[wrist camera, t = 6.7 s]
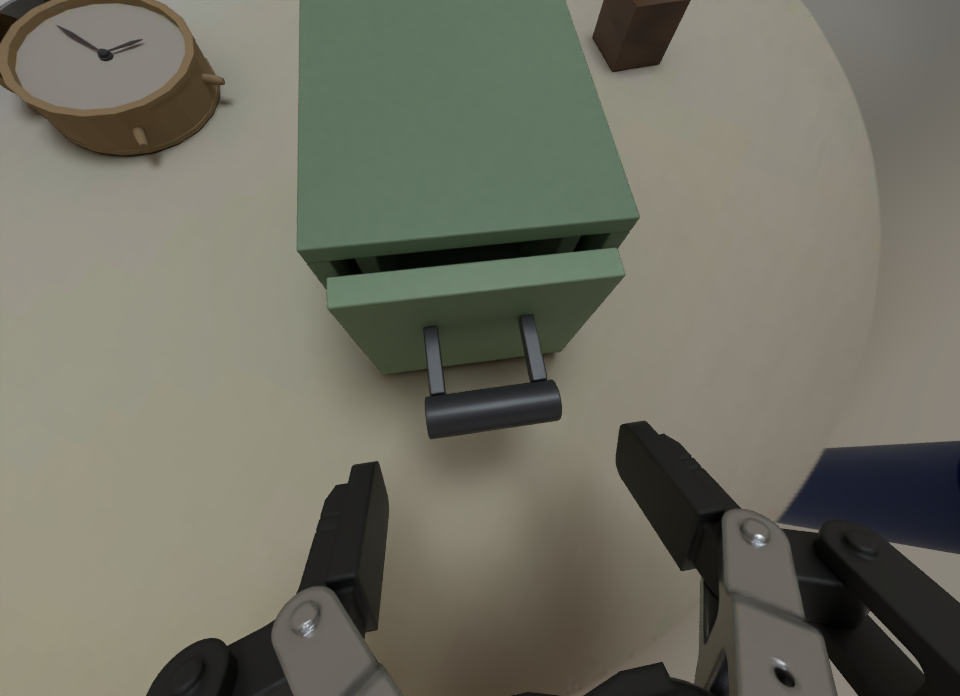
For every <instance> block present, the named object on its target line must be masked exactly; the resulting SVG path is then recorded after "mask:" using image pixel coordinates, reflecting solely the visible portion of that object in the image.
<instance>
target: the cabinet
mask: <svg viewBox="0 0 960 696" xmlns="http://www.w3.org/2000/svg"><path fill="white" fill-rule="evenodd" d="M639 218H640V215H639V213H638V210H637V207H636V204H635V201H634V198H633V195H632V192H631V189H630V186H629V184H628V181H627V178H626V175H625V172H624V169H623V166H622V163H621V160H620V158H619V155H618V152H617V149H616V146H615V143H614V140H613V137H612V134H611V132H610V129H609V126H608V123H607V120H606V117H605V114H604V111H603V108H602V105H601V103H600V100H599V97H598V94H597V91H596V88H595V85H594V82H593V79H592V77H591V74H590V71H589V68H588V65H587V62H586V59H585V56H584V53H583V51H582V48H581V45H580V42H579V39H578V36H577V33H576V30H575V27H574V25H573V22H572V19H571V16H570V13H569V10H568V7H567V4H566V1H565V0H300V21H299V104H298V188H297V251H298V253H299V254H300V255H301V257H302V258H303V259H304V261H305V262H306V263H307V265H308V266H309V267H310V269H311V270H312V271H313V273H314V274H315V275H316V277H317V278H318V279H319V281H320V282H321V283H322V285H323V286H324V287H325V288H326V290H327V278H329V277H338V276H348V275H358V274H362V272H361V270H360V268H359V266H358V264H357V262H356V260H355V258H363V257H373V256H383V255H393V254H403V253H413V252H423V251H433V250H443V249H453V248H463V247H473V246H483V245H493V244H503V243H513V242H523V241H533V240H543V239H553V238H563V237H573V236H581V237H580V239H579V241H578V243H577V245H576V247H575V249H574V251H573V252H578V251H588V250H598V249H607V248H617V249H618V248H619V246H620V245H621V243H622V242H623V241H624V239H625V238H626V236H627V235H628V234H629V231H630V230H631V229H632V228H633V226H634V225H635V224H636V222H637V221H638V219H639Z"/></svg>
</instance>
